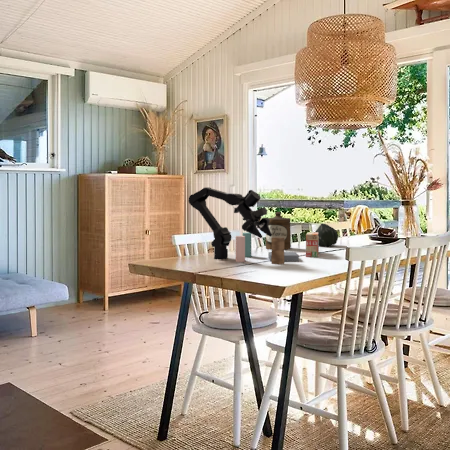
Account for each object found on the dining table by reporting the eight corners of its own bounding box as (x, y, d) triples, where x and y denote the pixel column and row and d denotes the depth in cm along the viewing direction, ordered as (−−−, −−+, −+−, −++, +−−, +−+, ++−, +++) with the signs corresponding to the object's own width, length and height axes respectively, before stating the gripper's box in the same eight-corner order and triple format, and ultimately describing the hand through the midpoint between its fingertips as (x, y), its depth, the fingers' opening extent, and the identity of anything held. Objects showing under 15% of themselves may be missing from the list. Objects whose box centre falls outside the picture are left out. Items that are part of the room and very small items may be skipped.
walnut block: (271, 263, 264) (271, 237, 263) (276, 262, 268) (276, 237, 267) (279, 264, 261) (279, 238, 260) (284, 263, 265) (284, 237, 264)
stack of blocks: (307, 252, 310) (307, 230, 309) (318, 252, 308) (319, 230, 308) (305, 257, 289) (305, 233, 288) (317, 257, 287) (318, 234, 287)
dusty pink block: (235, 262, 269) (235, 236, 268) (235, 260, 274) (235, 236, 273) (244, 262, 269) (245, 236, 268) (244, 260, 274) (244, 236, 273)
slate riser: (270, 261, 271) (270, 255, 271) (268, 257, 285) (268, 252, 285) (298, 261, 271) (298, 255, 271) (295, 257, 285) (295, 252, 285)
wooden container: (262, 249, 324) (262, 212, 323) (270, 246, 338) (270, 211, 336) (286, 250, 319) (286, 212, 317) (293, 247, 332) (293, 211, 331)
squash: (345, 237, 342) (330, 218, 346) (337, 240, 329) (321, 221, 333) (329, 251, 348) (314, 232, 352) (320, 254, 336) (305, 235, 340)
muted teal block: (242, 256, 289) (242, 233, 288) (242, 255, 294) (242, 232, 293) (251, 256, 289) (251, 233, 288) (251, 255, 294) (251, 232, 293)
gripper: (247, 202, 261) (267, 226, 256) (266, 201, 277) (285, 224, 271) (233, 218, 266) (252, 242, 261) (253, 216, 282) (272, 239, 276)
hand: (266, 236), depth 267 cm, fingers open, 9 cm apart
